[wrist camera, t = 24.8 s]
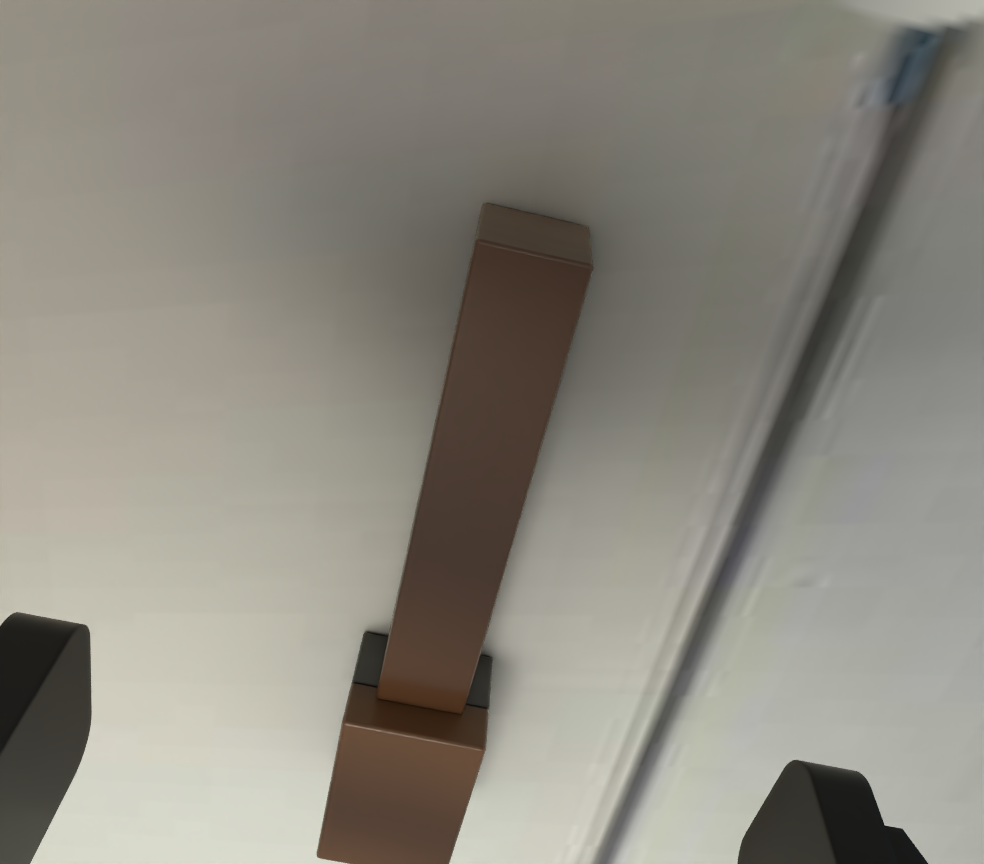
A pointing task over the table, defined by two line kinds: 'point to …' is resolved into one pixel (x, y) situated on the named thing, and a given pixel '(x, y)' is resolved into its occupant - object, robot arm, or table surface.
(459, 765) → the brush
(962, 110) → the table surface
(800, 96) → the table surface
